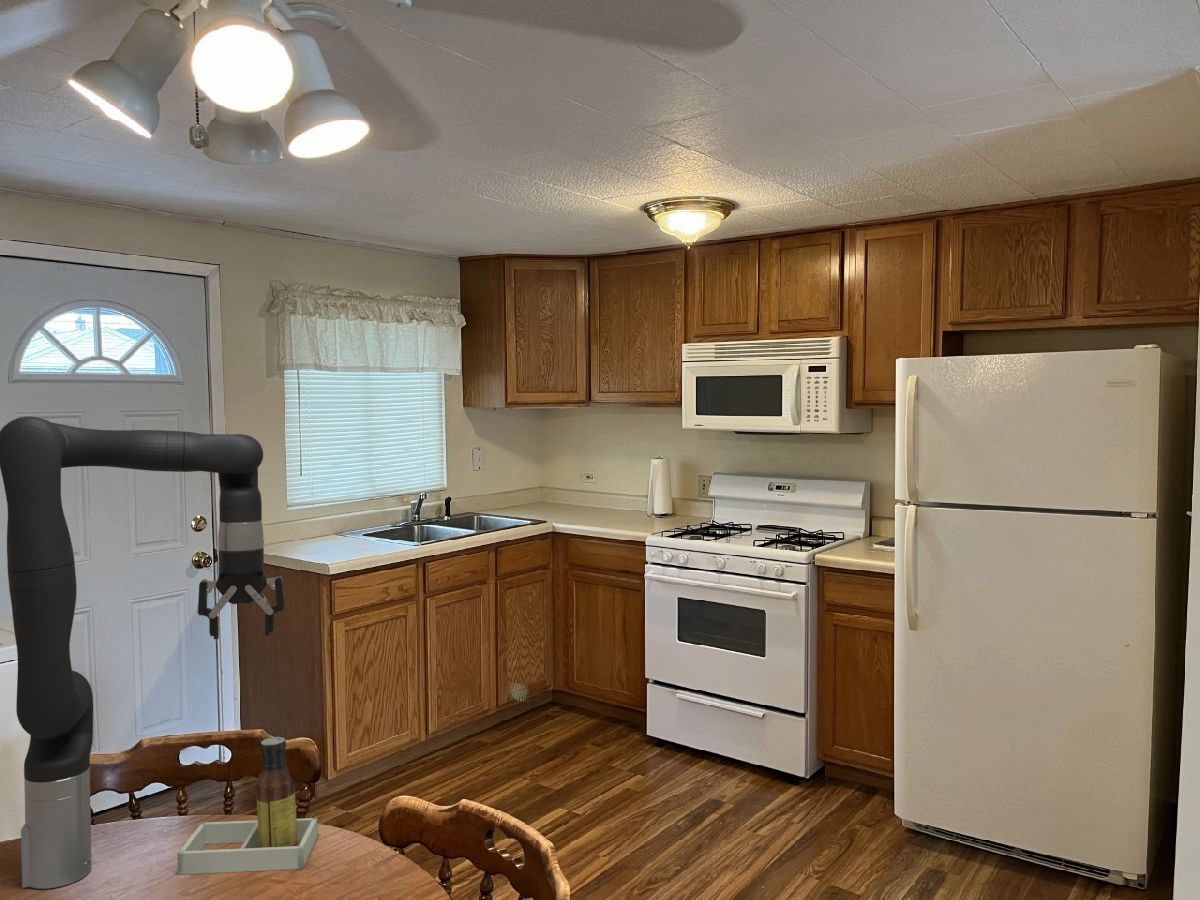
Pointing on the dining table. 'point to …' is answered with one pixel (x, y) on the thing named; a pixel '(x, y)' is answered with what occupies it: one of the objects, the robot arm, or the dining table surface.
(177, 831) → the dining table surface
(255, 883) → the dining table surface
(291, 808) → the sauce bottle
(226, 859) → the corral
